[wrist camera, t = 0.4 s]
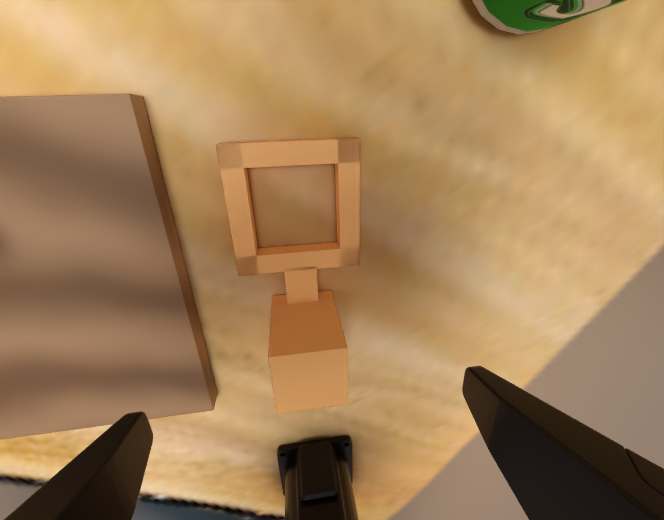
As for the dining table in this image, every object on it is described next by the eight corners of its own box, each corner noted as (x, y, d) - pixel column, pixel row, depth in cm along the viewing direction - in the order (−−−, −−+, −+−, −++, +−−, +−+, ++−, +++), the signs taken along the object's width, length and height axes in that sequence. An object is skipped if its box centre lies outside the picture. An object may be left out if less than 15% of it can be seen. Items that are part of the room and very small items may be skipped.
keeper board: (217, 393, 23) (194, 485, 17) (13, 420, 22) (-89, 532, 16) (142, 96, 15) (52, 79, 9) (-193, 104, 14) (-564, 90, 8)
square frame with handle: (355, 334, 23) (377, 399, 18) (254, 346, 22) (245, 418, 17) (355, 137, 17) (387, 143, 12) (220, 143, 17) (189, 153, 11)
